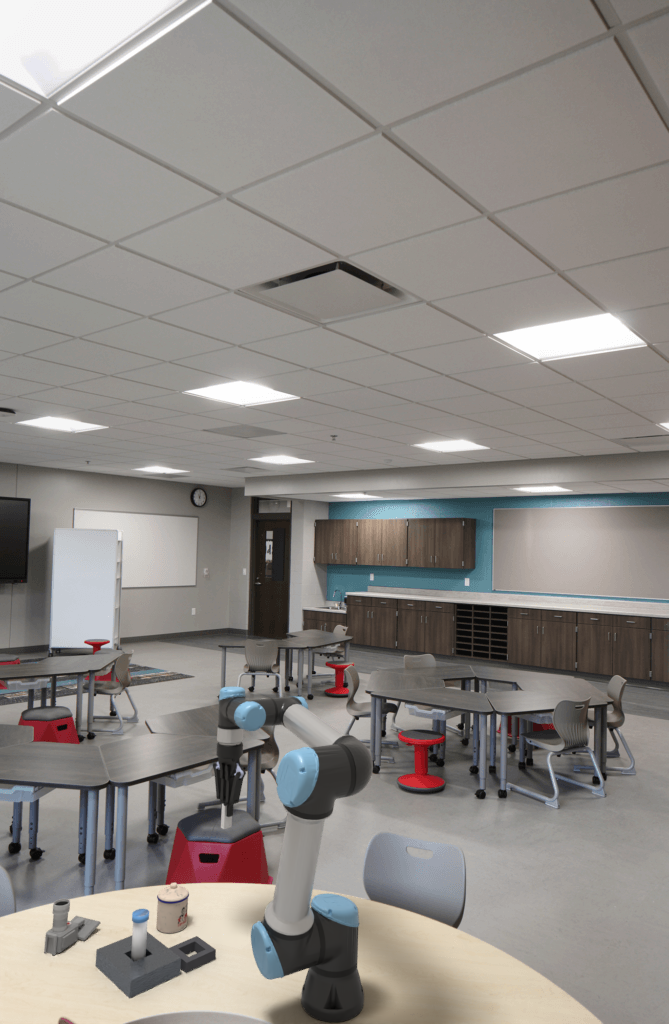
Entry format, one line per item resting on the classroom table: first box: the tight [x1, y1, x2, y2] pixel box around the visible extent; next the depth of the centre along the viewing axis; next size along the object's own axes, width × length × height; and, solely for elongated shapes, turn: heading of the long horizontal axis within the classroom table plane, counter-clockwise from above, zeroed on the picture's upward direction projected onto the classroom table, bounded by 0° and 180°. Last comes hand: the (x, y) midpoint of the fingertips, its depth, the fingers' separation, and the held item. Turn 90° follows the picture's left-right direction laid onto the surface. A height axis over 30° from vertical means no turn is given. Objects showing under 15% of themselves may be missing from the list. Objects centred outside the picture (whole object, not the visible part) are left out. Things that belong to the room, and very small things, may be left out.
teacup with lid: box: [155, 882, 190, 934], centre depth 191 cm, size 12×9×12 cm
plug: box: [131, 908, 150, 962], centre depth 168 cm, size 4×4×14 cm
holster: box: [168, 935, 217, 974], centre depth 173 cm, size 9×9×2 cm
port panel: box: [94, 931, 182, 999], centre depth 167 cm, size 18×14×4 cm
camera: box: [43, 898, 101, 956], centre depth 181 cm, size 9×12×15 cm
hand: (226, 827), depth 185 cm, fingers closed
